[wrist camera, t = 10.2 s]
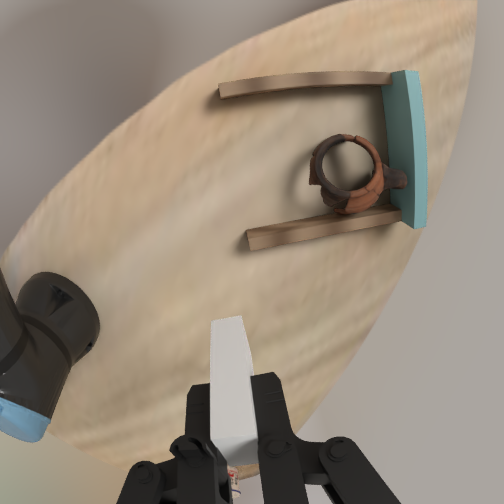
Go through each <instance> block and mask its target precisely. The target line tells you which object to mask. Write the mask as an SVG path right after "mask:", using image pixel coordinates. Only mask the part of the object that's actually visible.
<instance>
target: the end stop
mask: <svg viewBox="0 0 504 504" xmlns="http://www.w3.org/2000/svg"><path fill="white" fill-rule="evenodd" d="M391 75H392V81H393V85H386V86H381V91H382V97H383V105H384V113H385V121H386V131H387V142H388V155H389V168H394V169H399V170H402V171H403V172H404V173H405V174H406V176H407V185H406V187H405V188H404V189H390V204H392V205H394V206H396V207H397V208H399V209H401V210H402V222H404V223H405V224H407V225H408V226H410V227H412V228H413V229H417V228H422V227H426V219H427V187H428V175H427V144H426V129H425V117H424V108H423V99H422V92H421V85H420V79H419V73H418V71H409V70H403V71H397V72H392V73H391Z"/></svg>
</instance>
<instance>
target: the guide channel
mask: <svg viewBox="0 0 504 504" xmlns="http://www.w3.org/2000/svg"><path fill="white" fill-rule="evenodd" d="M386 85H393V81H392V75H391V73H387V72H364V71H332V72H308V73H294V74H283V75H273V76H265V77H257V78H250V79H243V80H237V81H231V82H225V83H220V84H218V86H219V92H220V97H221V100H222V99H227V98H233V97H239V96H245V95H251V94H258V93H265V92H273V91H282V90H291V89H302V88H316V87H335V86H386ZM399 221H402V210H401V209H399V208H397V207H396V206H394V205H392V204H385V205H379V206H373V207H369V208H368V209H366V210H365V211H362V212H360V213H357V214H339V213H333V214H327V215H322V216H316V217H311V218H306V219H300V220H295V221H290V222H284V223H279V224H274V225H269V226H264V227H258V228H253V229H248V230H246V232H247V237H248V242H249V246H250V251H253V250H258V249H263V248H268V247H273V246H278V245H283V244H288V243H293V242H298V241H303V240H308V239H313V238H318V237H323V236H328V235H333V234H338V233H343V232H348V231H353V230H358V229H364V228H369V227H374V226H379V225H384V224H389V223H394V222H399Z"/></svg>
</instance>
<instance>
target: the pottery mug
mask: <svg viewBox="0 0 504 504" xmlns="http://www.w3.org/2000/svg"><path fill="white" fill-rule="evenodd" d="M344 141H350V142H354V143H356V144H358V145H360V146H362V147H363V148H364V149H366V150H367V151H368V153H369V154H370V155H371V157H372V159H373V164H374V170H373V171H372V174H373V177H372V179H371V180H370V182H369V183H368V184H367V185H366V186H364V187H362V188H360V189H358V190H352V191H345V190H341V189H339V188H337V187H335V186H334V185H332V184H331V183H330V182H329V181H328V180H327V179H326V178H325V175H324V173H323V169H322V161H323V157H324V155H325V153H326V152H327V150H328V149H329V148H330V147H332V146H333V145H335V144H337V143H340V142H344ZM309 185H321V195H322V197H323V201H324V203H325V204H326V205H328V206H330V207H332V206H333V205H334V204H337V203H339V202H341V201H343V200H346V199H347V205H346V207H345V209H339V208H334V212H336V213H339V214H357V213H360V212H362V211H365V210H366V209H368V208H369V207H370V206H371V205H373V204H374V203H375V202H376V201H377V199H378V198H379V194H381V193H382V191H383V190H385V189H404V188H405V187H406V185H407V176H406V174H405V173H404V172H403V171H402V170H399V169H394V168H389V167H388V166H386V165H385V164H384V163H381V159H380V156H379V155H378V152H377V150H376V149H375V148H374V146H373V145H372V144H371V143H370V142H368V141H367V140H366V139H364V138H362V137H360V136H357V135H356V136H355V137H353V136H351V135H345V134H337V135H334V136H331V137H329V138H327V139H326V140H324V141H323V142H322V143H320V144H319V145H318V146H317V148H316V149H315V151H314V152H313V157H312V158H311V160H310V178H309Z"/></svg>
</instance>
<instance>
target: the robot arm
mask: <svg viewBox="0 0 504 504" xmlns="http://www.w3.org/2000/svg"><path fill="white" fill-rule="evenodd" d="M99 331H100V322H99V317H98V314H97V312H96V309H95V307H94V305H93V304H92V302H91V301H90V299H89V298H88V297H87V295H86V294H85V293H84V292H83V291H82V290H81V289H80V288H79V287H78V286H77V285H76V284H74V283H73V282H72V281H70V280H69V279H67V278H65V277H63V276H61V275H58V274H55V273H51V272H41V273H37V274H35V275H33V276H32V277H31V278H30V279H29V280H28V281H27V282H26V283H25V284H24V285H23V287H22V288H21V290H20V293H19V296H18V298H17V301H16V304H15V303H14V301H13V298H12V296H11V294H10V292H9V289H8V287H7V284H6V282H5V279H4V276H3V274H2V271H1V268H0V430H1V431H2V432H4V433H6V434H8V435H10V436H12V437H14V438H17V439H19V440H22V441H26V442H37V441H39V440H40V439H41V438H42V437H43V435H44V433H45V430H46V428H47V426H48V424H50V422H51V418H52V415H53V412H54V410H55V407H56V404H57V402H58V399H59V396H60V394H61V391H62V389H63V386H64V384H65V381H66V379H67V376H68V374H69V372H70V369H71V367H72V366H73V365H74V364H75V363H77V362H78V361H79V360H80V359H81V358H82V357H83V356H84V355H86V354H87V353H88V352H89V351H90V350H91V349H92V347H93V346H94V344H95V342H96V340H97V338H98V335H99ZM169 451H170V452H171V453H172V454H173V455H174V456H175V458H173V459H171V460H168V461H165V462H162V463H158V464H154V463H152V462H150V461H141V462H137V463H136V464H135V465H133V466H132V468H131V469H130V471H129V473H128V475H127V478H126V480H125V483H124V486H123V488H122V491H121V494H120V496H119V498H118V501H117V503H116V504H233V498H232V487H231V478H230V475H229V474H228V470H227V464H228V465H229V467H232V466H241V465H249V464H256V463H259V469H260V476H261V483H262V491H263V498H264V504H309V502H308V498H307V493H306V489H305V484H311V485H321V486H322V487H323V489H324V490H325V492H326V494H327V495H328V497H329V498H330V500H331V502H332V503H333V504H401V503H400V502H399V500H398V499H397V498H396V496H395V495H394V494H393V493H392V491H391V490H390V489H389V487H388V486H387V485H386V484H385V482H384V481H383V480H382V478H381V477H380V475H379V474H378V473H377V472H376V470H375V469H374V468H373V466H372V465H371V464H370V462H369V461H368V460H367V458H366V457H365V456H364V454H363V453H362V452H361V450H360V449H359V447H358V446H357V445H356V443H355V442H353V441H352V440H351V439H349V438H346V437H334V438H331V439H329V440H327V441H326V442H308V441H304V440H301V439H299V438H298V437H297V436H296V435H295V434H294V433H293V431H292V428H291V425H290V420H289V416H288V411H287V407H286V403H285V398H284V394H283V390H282V385H281V381H280V379H279V378H278V377H277V375H276V374H275V373H274V372H270V373H265V374H260V375H254V372H253V365H252V358H251V352H250V348H249V344H248V340H247V336H246V333H245V329H244V325H243V321H242V317H241V316H235V317H230V318H225V319H219V320H213V321H211V351H210V383H207V384H199V385H192V387H191V389H190V391H189V392H188V394H187V407H186V421H185V435H183V436H180V437H178V438H177V439H175V440H174V442H173V443H172V444H171V446H170V450H169Z"/></svg>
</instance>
